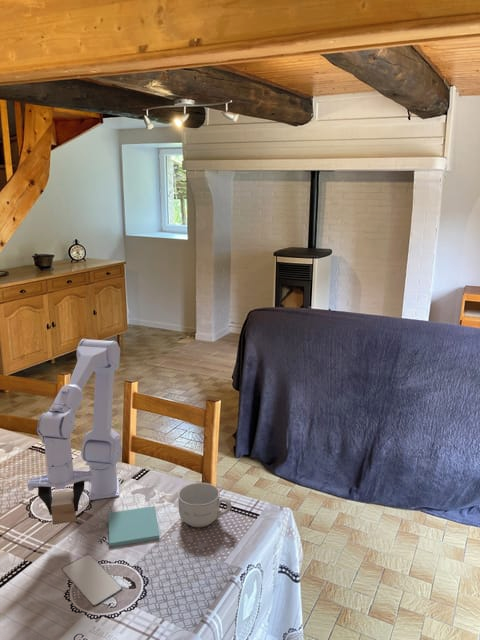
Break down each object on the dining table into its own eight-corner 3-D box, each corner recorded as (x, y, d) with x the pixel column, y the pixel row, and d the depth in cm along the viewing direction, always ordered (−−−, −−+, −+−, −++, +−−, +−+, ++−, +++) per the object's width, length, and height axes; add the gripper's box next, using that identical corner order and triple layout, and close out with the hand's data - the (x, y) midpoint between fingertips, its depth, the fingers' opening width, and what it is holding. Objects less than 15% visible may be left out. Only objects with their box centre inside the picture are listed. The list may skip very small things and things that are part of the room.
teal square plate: (108, 516, 134) (108, 512, 134) (154, 509, 137) (154, 506, 137) (109, 546, 123) (109, 543, 122) (159, 538, 126) (159, 535, 125)
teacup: (170, 524, 131) (169, 497, 129) (193, 502, 140) (192, 476, 138) (217, 542, 125) (217, 514, 122) (238, 517, 134) (238, 490, 132)
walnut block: (54, 511, 125) (52, 493, 123) (76, 508, 126) (74, 491, 125) (52, 524, 120) (51, 506, 119) (75, 521, 121) (73, 503, 120)
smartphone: (94, 607, 105) (60, 568, 116) (94, 609, 105) (61, 570, 116) (123, 588, 110) (89, 553, 120) (123, 590, 110) (89, 555, 120)
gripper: (23, 473, 114) (29, 526, 117) (91, 465, 117) (95, 516, 121) (27, 457, 120) (33, 507, 124) (91, 450, 124) (95, 498, 127)
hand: (64, 510), depth 123 cm, fingers closed on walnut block, 5 cm apart
